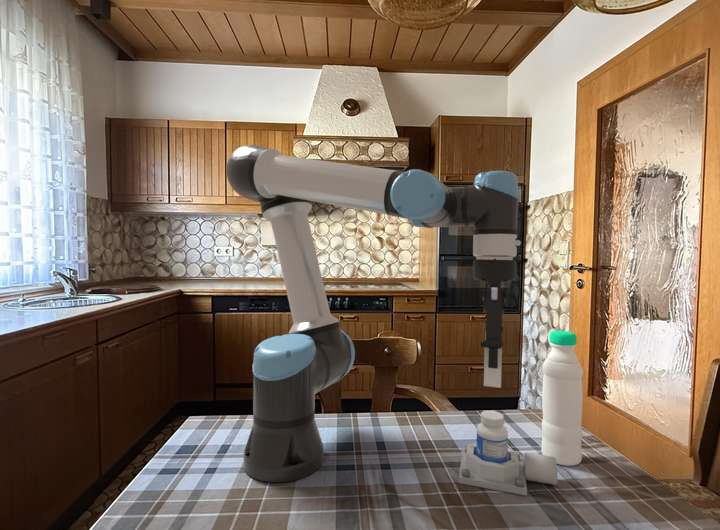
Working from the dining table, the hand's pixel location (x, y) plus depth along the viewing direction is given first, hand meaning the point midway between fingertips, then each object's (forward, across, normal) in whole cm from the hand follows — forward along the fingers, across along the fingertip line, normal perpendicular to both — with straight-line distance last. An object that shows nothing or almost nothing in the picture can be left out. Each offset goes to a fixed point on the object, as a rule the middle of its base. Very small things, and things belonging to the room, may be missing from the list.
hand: (492, 374), depth 70 cm
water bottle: (+18, +10, -13) cm, 25 cm away
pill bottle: (+17, 0, 0) cm, 17 cm away
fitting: (+18, 0, -3) cm, 18 cm away
